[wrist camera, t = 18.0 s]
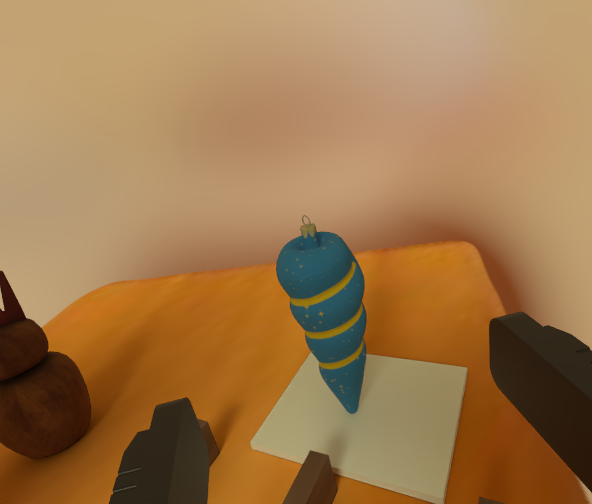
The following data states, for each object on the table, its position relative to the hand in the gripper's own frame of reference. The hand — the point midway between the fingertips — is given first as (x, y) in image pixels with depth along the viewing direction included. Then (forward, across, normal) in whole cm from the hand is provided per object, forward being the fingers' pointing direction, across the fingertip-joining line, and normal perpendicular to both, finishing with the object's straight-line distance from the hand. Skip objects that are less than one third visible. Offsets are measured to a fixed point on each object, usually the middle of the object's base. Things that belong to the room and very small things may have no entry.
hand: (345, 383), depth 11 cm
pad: (+14, -3, +16) cm, 21 cm away
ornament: (+14, -2, +15) cm, 21 cm away
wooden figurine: (+20, +22, +16) cm, 34 cm away
